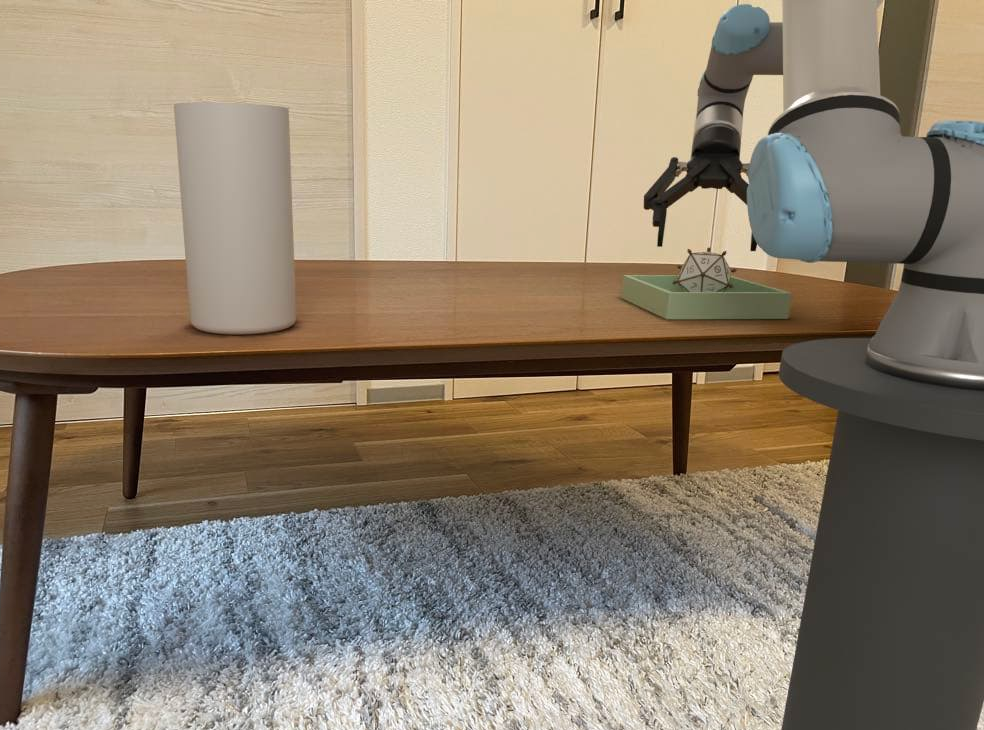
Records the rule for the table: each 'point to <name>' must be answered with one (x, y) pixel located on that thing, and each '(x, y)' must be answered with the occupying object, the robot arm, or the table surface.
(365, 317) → the table surface
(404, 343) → the table surface
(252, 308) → the cylinder vase
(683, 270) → the game die
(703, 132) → the robot arm
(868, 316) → the table surface
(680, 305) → the tray
